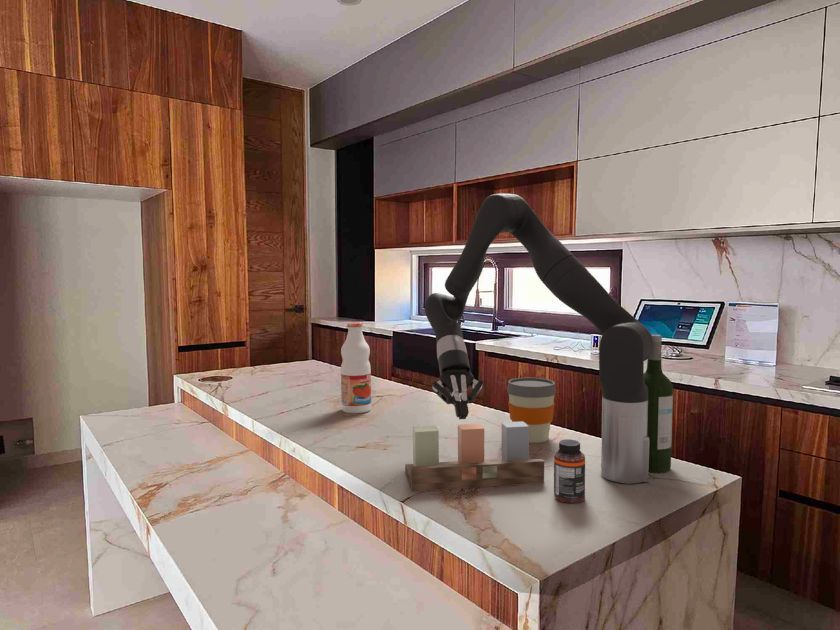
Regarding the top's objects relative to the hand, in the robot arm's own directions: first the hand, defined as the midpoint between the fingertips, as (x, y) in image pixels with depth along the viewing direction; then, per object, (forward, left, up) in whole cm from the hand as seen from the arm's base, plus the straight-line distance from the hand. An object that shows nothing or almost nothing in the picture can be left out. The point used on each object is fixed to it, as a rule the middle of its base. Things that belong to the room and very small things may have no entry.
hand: (463, 417), depth 134 cm
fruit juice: (+40, -42, -11) cm, 59 cm away
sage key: (+7, +11, -9) cm, 16 cm away
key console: (-3, +9, -10) cm, 14 cm away
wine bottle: (-42, -4, -11) cm, 44 cm away
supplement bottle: (-23, +17, -11) cm, 31 cm away
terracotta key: (-3, +8, -9) cm, 12 cm away
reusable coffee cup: (-15, -22, -11) cm, 29 cm away
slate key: (-12, +5, -9) cm, 16 cm away
